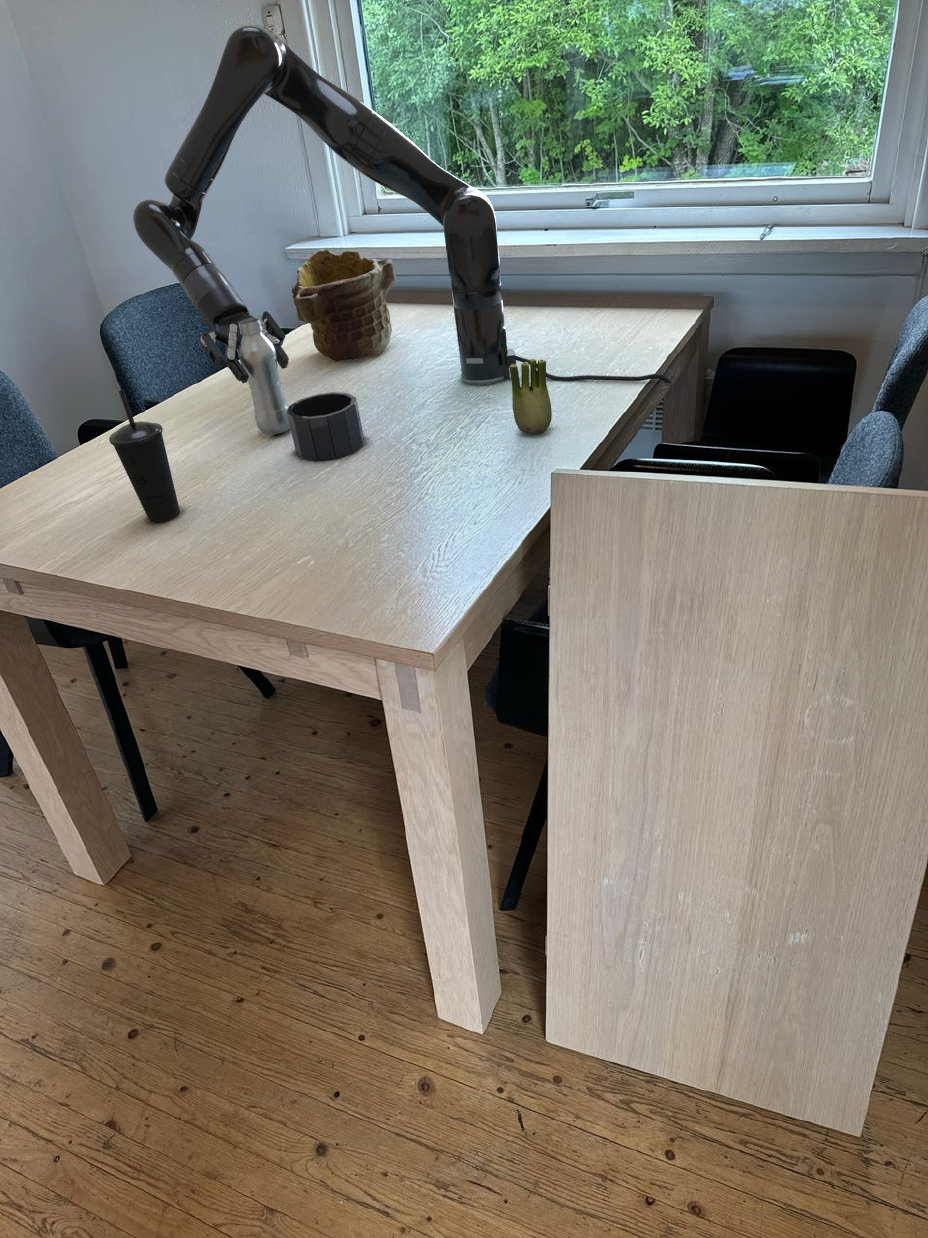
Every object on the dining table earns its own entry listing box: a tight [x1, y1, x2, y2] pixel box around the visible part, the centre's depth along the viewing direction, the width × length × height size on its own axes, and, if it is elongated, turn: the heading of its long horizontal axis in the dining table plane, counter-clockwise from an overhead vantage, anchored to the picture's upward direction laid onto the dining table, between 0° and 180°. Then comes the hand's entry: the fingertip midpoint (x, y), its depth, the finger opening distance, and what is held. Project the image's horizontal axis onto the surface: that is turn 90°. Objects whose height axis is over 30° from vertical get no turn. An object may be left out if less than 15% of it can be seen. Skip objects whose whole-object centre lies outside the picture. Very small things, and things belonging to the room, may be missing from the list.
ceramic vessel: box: [291, 248, 397, 362], centre depth 188 cm, size 23×24×25 cm
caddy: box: [286, 391, 365, 462], centre depth 149 cm, size 12×12×8 cm
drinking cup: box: [108, 389, 181, 524], centre depth 130 cm, size 8×8×20 cm
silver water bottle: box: [237, 317, 291, 435], centre depth 154 cm, size 6×7×20 cm
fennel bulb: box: [509, 358, 553, 435], centre depth 142 cm, size 6×5×12 cm
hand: (266, 372), depth 152 cm, fingers open, 8 cm apart
